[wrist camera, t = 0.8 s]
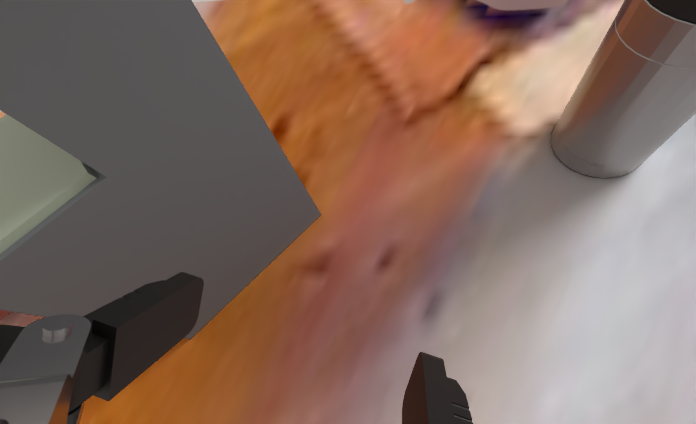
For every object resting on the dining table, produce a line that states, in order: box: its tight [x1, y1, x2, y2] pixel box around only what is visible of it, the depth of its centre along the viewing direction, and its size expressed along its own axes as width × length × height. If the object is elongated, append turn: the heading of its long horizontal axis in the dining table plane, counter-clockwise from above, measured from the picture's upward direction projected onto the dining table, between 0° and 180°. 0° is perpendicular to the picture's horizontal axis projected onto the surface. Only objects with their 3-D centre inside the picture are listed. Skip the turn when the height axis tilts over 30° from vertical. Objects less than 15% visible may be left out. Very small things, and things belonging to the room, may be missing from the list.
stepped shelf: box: [0, 0, 321, 339], centre depth 26 cm, size 20×12×32 cm, turn 134°
